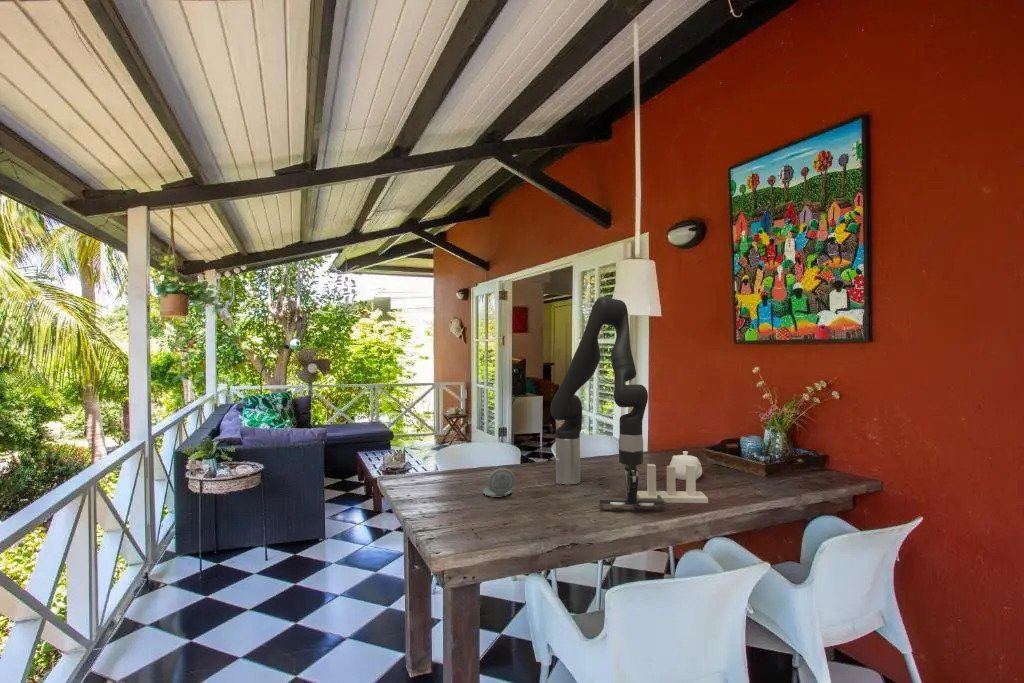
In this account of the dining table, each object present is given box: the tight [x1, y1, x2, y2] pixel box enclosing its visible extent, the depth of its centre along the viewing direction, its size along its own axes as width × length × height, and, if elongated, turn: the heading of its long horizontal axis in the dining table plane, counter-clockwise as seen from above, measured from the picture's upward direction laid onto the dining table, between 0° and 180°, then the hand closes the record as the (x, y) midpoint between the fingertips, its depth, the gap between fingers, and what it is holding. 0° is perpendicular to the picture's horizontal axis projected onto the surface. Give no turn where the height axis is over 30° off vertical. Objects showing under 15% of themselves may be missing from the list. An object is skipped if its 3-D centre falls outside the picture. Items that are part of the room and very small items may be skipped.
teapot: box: [669, 450, 703, 481], centre depth 205 cm, size 20×12×10 cm, turn 12°
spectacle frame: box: [597, 485, 665, 507], centre depth 168 cm, size 20×9×5 cm, turn 86°
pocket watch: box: [482, 467, 516, 496], centre depth 187 cm, size 10×11×15 cm
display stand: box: [637, 463, 709, 504], centre depth 178 cm, size 22×8×12 cm, turn 86°
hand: (631, 502), depth 167 cm, fingers closed on spectacle frame, 3 cm apart
